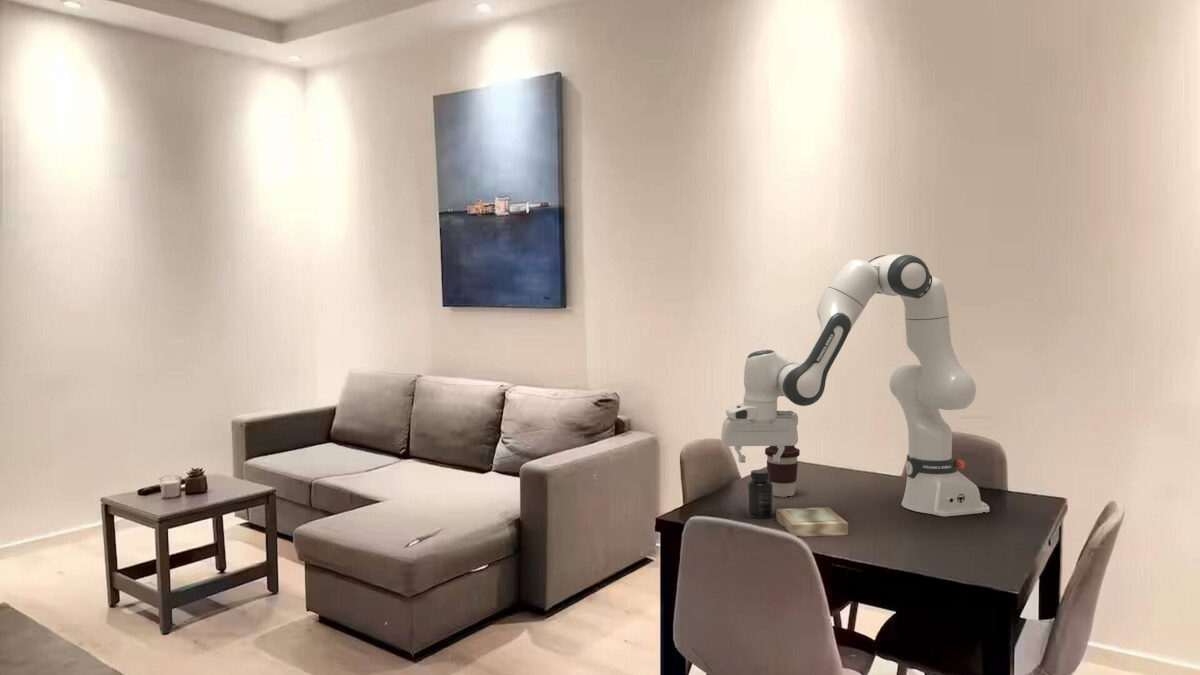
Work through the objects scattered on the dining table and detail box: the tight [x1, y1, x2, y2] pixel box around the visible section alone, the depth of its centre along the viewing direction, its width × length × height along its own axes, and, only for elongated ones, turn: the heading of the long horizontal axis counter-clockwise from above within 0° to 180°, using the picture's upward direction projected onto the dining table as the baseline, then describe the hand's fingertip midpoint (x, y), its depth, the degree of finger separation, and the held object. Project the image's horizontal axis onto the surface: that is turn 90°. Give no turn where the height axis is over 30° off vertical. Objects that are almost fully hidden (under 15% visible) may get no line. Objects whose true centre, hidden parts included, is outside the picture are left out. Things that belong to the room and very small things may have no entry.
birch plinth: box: [775, 506, 849, 538], centre depth 211 cm, size 14×14×3 cm
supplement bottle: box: [746, 469, 774, 519], centre depth 222 cm, size 7×7×12 cm
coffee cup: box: [764, 445, 801, 498], centre depth 243 cm, size 10×10×15 cm
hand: (759, 462), depth 221 cm, fingers open, 8 cm apart
